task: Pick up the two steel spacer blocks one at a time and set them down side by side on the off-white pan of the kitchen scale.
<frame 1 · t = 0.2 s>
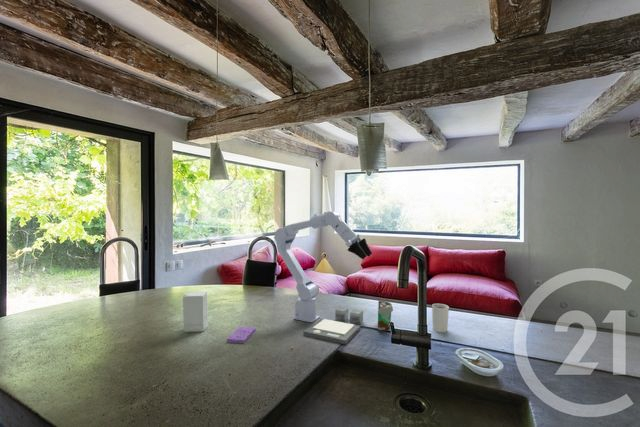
hand: (367, 256, 128), 31 cm above the counter, fingers open, 7 cm apart
food container: (385, 328, 131), on the counter
white cup: (439, 330, 130), on the counter
skincare box: (195, 329, 127), on the counter
steel spacer A: (341, 319, 140), on the counter
sponges: (241, 337, 121), on the counter
kitchen scale: (332, 332, 125), on the counter
steel spacer B: (356, 322, 137), on the counter
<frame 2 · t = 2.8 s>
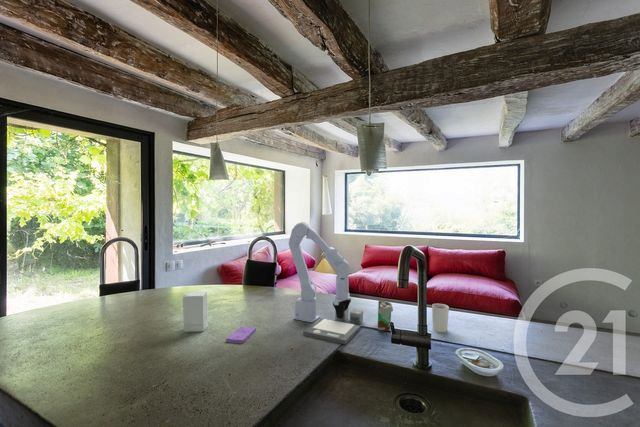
hand: (341, 316, 140), 1 cm above the counter, fingers closed on steel spacer A, 4 cm apart
steel spacer A: (341, 319, 140), on the counter, touching gripper
everything else where it was.
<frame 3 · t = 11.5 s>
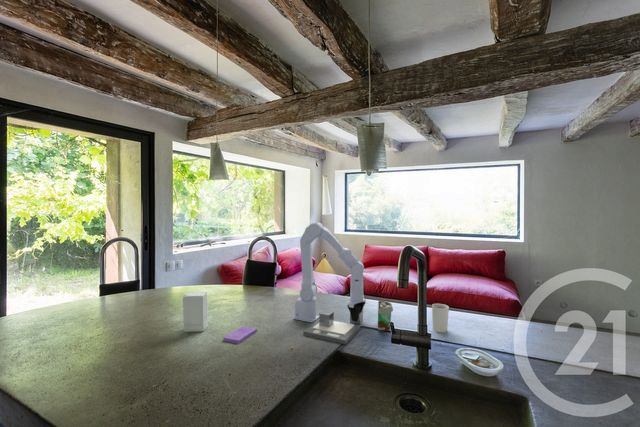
hand: (356, 319, 137), 1 cm above the counter, fingers closed on steel spacer B, 4 cm apart
steel spacer A: (326, 324, 128), point 2 cm above the counter, touching kitchen scale
steel spacer B: (356, 322, 137), on the counter, touching gripper
when the fingers open (4 cm above the counter, at t = 16.9 s): steel spacer B stays where it is, resting on kitchen scale.
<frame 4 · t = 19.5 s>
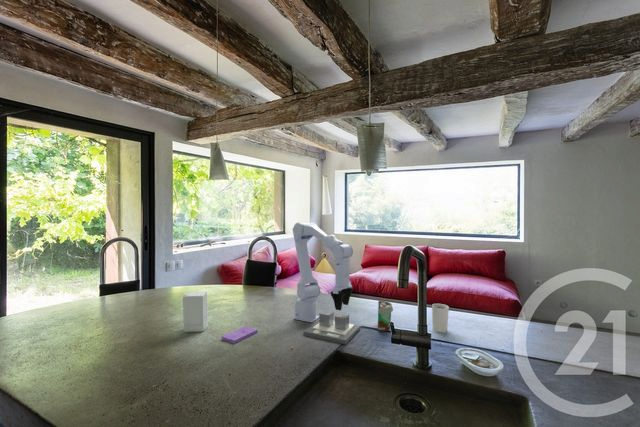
hand: (342, 307, 125), 10 cm above the counter, fingers open, 7 cm apart
steel spacer B: (341, 327, 125), point 2 cm above the counter, touching kitchen scale
at the end: steel spacer A inside the target area on the kitchen scale (3.4 cm from its centre), point 2.0 cm above the kitchen scale's base; steel spacer B inside the target area on the kitchen scale (3.5 cm from its centre), point 2.0 cm above the kitchen scale's base; steel spacer B tilted 0° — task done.
